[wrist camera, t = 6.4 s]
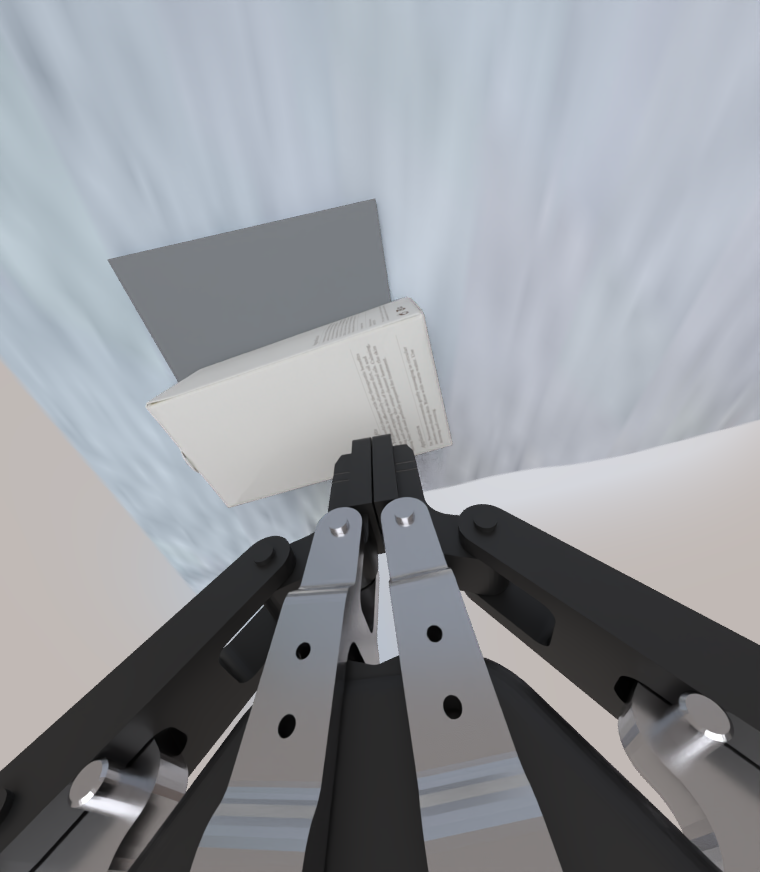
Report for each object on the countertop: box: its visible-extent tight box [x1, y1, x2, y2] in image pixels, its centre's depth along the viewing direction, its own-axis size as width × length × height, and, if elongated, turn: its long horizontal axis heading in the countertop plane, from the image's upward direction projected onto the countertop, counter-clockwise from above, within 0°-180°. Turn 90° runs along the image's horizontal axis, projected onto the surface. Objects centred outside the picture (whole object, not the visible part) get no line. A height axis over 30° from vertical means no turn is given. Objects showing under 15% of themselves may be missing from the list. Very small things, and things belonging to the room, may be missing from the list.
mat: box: [108, 199, 391, 382], centre depth 22 cm, size 16×18×1 cm
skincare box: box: [146, 297, 453, 508], centre depth 20 cm, size 8×7×16 cm
